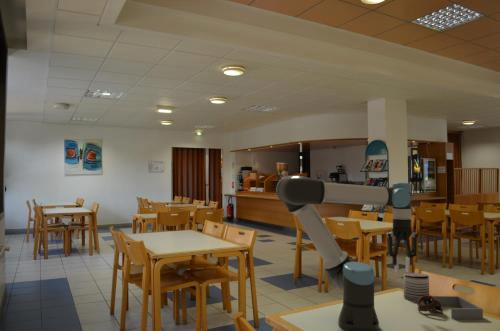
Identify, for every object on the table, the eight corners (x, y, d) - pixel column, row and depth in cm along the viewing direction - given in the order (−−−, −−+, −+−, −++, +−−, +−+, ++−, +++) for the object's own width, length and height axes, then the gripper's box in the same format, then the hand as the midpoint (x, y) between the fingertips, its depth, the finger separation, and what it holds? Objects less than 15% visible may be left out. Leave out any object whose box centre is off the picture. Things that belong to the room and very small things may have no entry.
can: (406, 301, 183) (405, 275, 184) (401, 294, 195) (401, 270, 195) (432, 303, 181) (432, 277, 182) (426, 296, 192) (425, 271, 193)
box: (452, 319, 161) (452, 309, 161) (431, 304, 179) (431, 296, 179) (482, 319, 161) (482, 309, 161) (458, 305, 179) (458, 296, 179)
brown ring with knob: (448, 317, 164) (441, 301, 163) (426, 326, 165) (419, 310, 164) (436, 301, 176) (429, 286, 174) (416, 309, 177) (409, 294, 176)
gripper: (417, 217, 175) (418, 270, 174) (379, 217, 175) (379, 270, 174) (425, 219, 167) (425, 274, 167) (385, 219, 167) (385, 274, 166)
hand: (402, 272), depth 170 cm, fingers open, 4 cm apart
